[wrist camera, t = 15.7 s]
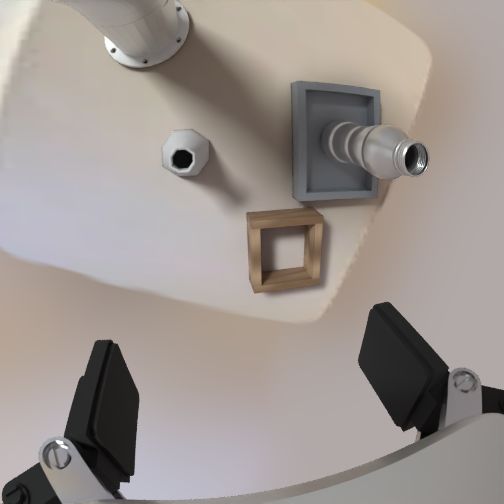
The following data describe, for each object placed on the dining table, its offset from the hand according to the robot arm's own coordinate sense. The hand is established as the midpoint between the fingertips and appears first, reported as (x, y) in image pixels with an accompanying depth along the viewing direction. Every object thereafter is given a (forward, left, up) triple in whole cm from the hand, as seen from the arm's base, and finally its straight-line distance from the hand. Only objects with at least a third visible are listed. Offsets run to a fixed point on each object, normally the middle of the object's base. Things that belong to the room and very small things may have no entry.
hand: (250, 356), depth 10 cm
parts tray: (-5, +20, -36) cm, 42 cm away
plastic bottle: (-5, +20, -36) cm, 41 cm away
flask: (-4, -3, -37) cm, 37 cm away
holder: (+12, +11, -36) cm, 40 cm away
